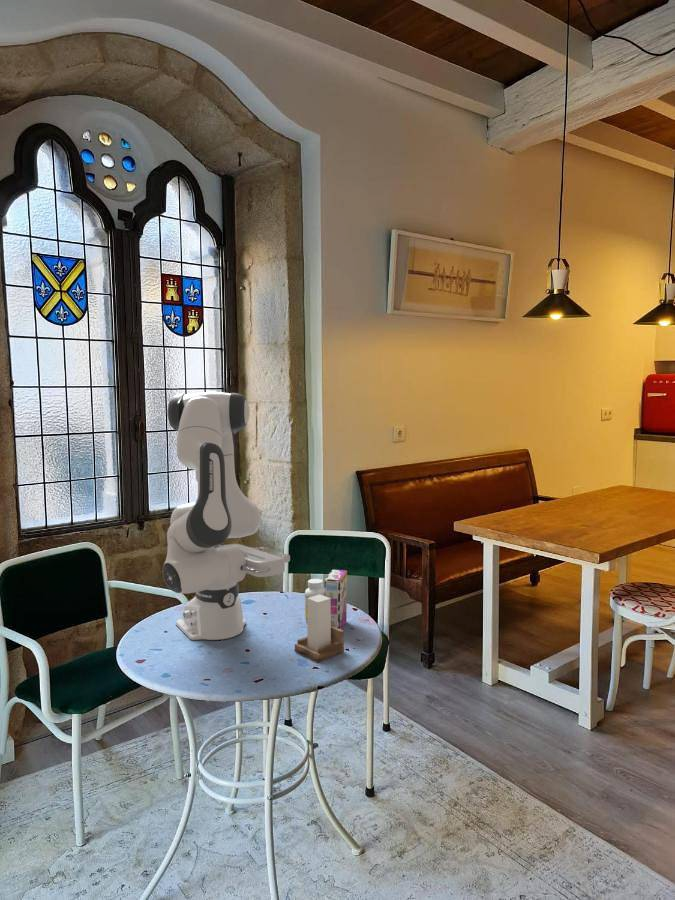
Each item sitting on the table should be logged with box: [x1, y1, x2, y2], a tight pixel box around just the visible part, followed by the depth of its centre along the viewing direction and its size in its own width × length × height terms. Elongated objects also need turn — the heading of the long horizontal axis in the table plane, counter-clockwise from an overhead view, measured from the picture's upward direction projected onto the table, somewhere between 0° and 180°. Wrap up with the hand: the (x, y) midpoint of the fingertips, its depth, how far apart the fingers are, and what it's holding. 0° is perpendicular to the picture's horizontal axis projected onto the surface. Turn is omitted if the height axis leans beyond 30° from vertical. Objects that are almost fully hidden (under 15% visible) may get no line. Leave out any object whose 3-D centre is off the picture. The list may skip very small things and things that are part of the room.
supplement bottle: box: [304, 578, 324, 623], centre depth 195 cm, size 7×7×13 cm
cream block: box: [306, 595, 331, 653], centre depth 173 cm, size 4×5×14 cm
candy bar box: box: [323, 569, 348, 630], centre depth 189 cm, size 11×5×16 cm, turn 168°
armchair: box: [294, 626, 345, 663], centre depth 173 cm, size 10×10×6 cm
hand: (276, 553), depth 161 cm, fingers open, 8 cm apart
